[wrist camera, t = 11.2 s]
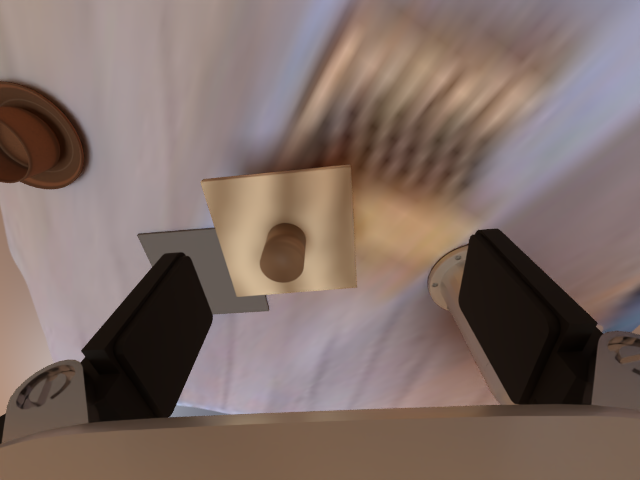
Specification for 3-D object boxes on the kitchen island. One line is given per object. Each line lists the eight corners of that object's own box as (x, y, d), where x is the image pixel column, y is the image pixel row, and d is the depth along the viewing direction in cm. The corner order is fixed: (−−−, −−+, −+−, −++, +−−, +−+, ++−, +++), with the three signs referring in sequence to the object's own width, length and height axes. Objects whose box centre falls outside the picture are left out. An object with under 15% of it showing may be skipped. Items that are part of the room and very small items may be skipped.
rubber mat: (248, 225, 41) (247, 226, 41) (269, 309, 49) (268, 310, 49) (138, 233, 42) (137, 235, 42) (176, 314, 50) (175, 316, 50)
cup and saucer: (-22, 149, 37) (-80, 163, 31) (-13, 55, 31) (-82, 53, 26) (80, 200, 40) (43, 221, 35) (103, 123, 35) (63, 133, 29)
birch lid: (350, 164, 27) (356, 183, 23) (356, 283, 34) (361, 316, 30) (203, 179, 28) (180, 200, 24) (238, 292, 35) (226, 326, 31)
